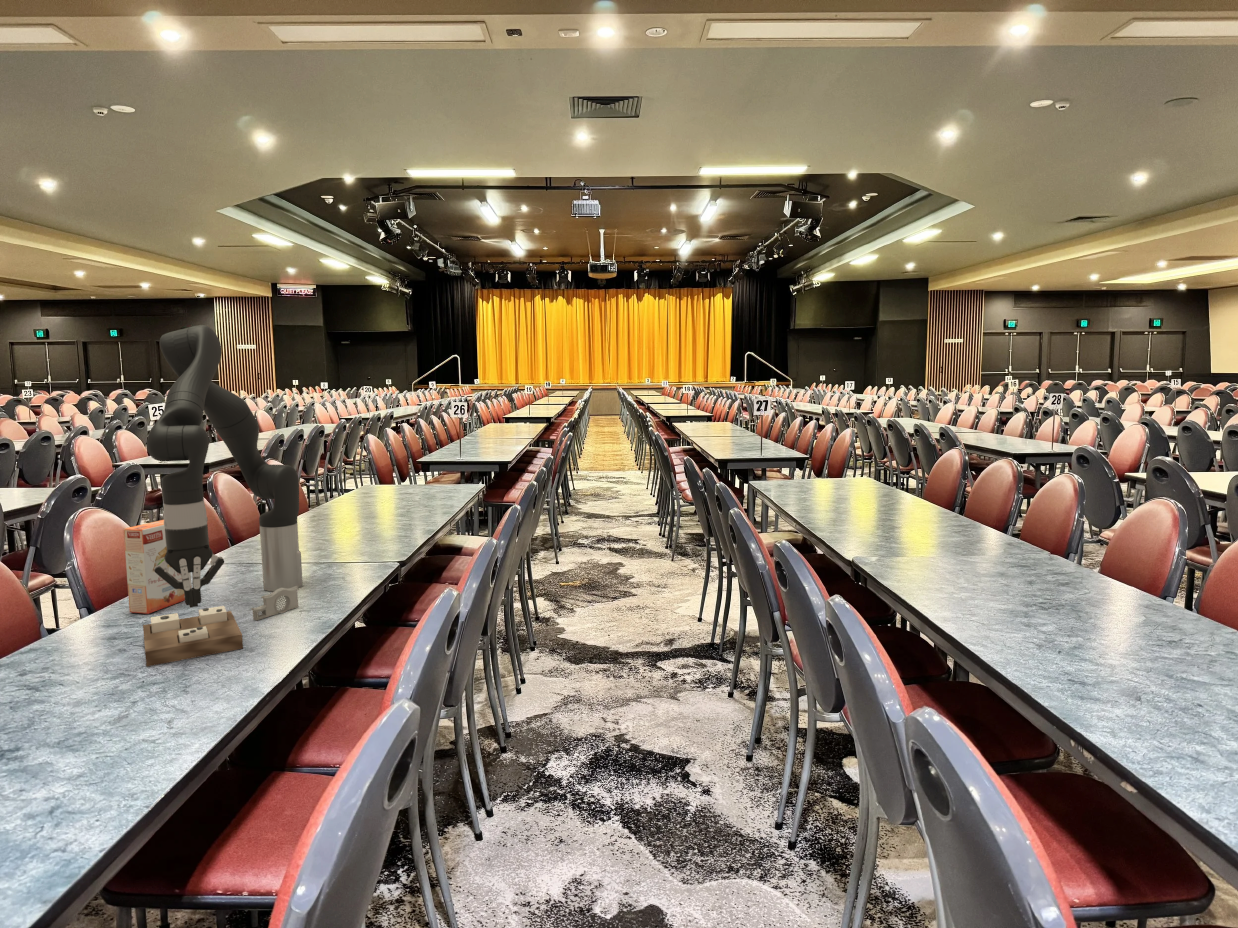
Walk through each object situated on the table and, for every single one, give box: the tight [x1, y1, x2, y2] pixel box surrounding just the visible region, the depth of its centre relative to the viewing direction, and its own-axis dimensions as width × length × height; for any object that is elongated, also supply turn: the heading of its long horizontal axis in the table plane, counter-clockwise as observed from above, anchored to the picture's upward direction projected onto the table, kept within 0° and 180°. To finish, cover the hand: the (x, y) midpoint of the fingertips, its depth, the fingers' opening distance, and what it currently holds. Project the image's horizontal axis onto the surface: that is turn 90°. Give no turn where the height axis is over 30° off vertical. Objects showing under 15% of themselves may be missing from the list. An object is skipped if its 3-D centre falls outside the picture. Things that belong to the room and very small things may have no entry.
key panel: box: [142, 610, 244, 668], centre depth 156 cm, size 17×19×3 cm
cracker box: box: [123, 519, 193, 615], centre depth 181 cm, size 14×6×21 cm, turn 168°
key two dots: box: [198, 605, 227, 625], centre depth 162 cm, size 5×5×4 cm
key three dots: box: [178, 626, 208, 643], centre depth 151 cm, size 5×5×4 cm
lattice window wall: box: [250, 586, 300, 621], centre depth 175 cm, size 12×2×6 cm, turn 152°
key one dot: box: [150, 612, 180, 633], centre depth 157 cm, size 5×5×4 cm
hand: (193, 606), depth 151 cm, fingers closed
